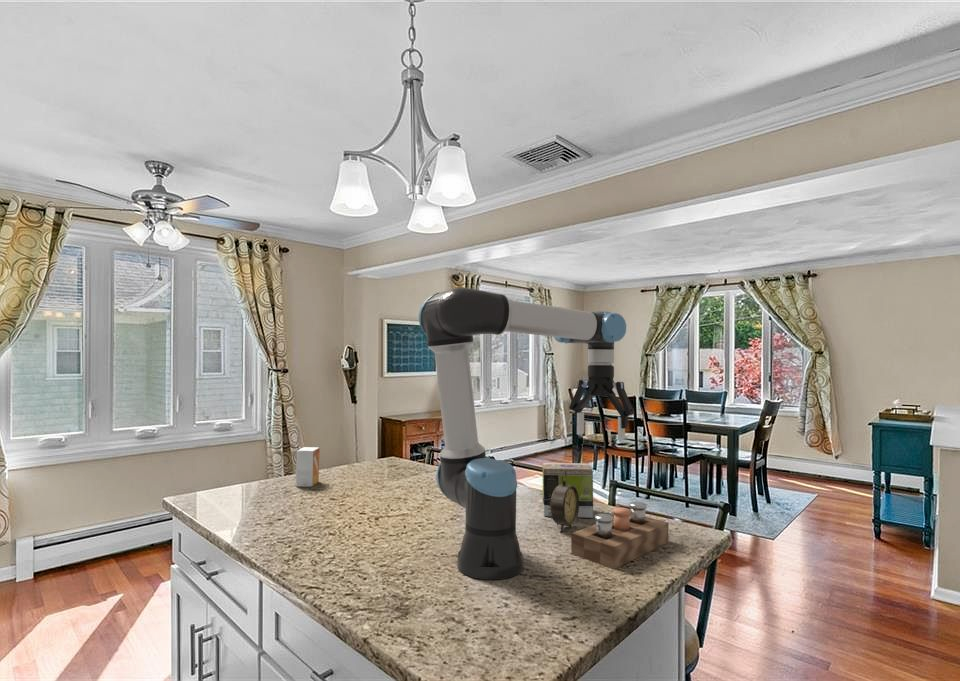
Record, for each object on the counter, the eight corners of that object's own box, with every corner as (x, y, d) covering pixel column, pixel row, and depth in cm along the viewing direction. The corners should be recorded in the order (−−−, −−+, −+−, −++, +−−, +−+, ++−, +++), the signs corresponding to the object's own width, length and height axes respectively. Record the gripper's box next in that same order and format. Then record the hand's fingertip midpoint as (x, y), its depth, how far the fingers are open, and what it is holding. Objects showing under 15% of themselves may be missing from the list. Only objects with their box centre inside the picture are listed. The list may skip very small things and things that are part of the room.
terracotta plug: (624, 534, 127) (624, 513, 127) (609, 529, 130) (609, 509, 130) (633, 530, 130) (634, 510, 130) (618, 525, 133) (618, 506, 133)
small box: (312, 487, 185) (313, 450, 186) (295, 486, 185) (295, 450, 186) (319, 481, 193) (320, 446, 194) (302, 481, 193) (303, 446, 194)
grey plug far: (641, 526, 132) (641, 507, 132) (626, 522, 135) (626, 503, 135) (649, 523, 135) (649, 504, 135) (634, 519, 138) (634, 500, 138)
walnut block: (614, 569, 116) (614, 547, 116) (571, 553, 125) (571, 533, 125) (668, 541, 134) (668, 522, 134) (627, 530, 143) (627, 512, 143)
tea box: (589, 509, 162) (589, 462, 163) (593, 519, 152) (593, 469, 153) (542, 507, 164) (542, 461, 164) (542, 517, 154) (543, 467, 154)
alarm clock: (564, 535, 138) (565, 475, 139) (546, 531, 141) (547, 472, 141) (580, 524, 147) (580, 468, 148) (562, 521, 150) (563, 465, 151)
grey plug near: (606, 541, 121) (606, 520, 121) (591, 536, 124) (591, 516, 124) (616, 537, 124) (616, 516, 124) (601, 532, 127) (601, 512, 127)
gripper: (646, 365, 144) (646, 440, 143) (572, 363, 161) (571, 430, 161) (634, 365, 139) (633, 443, 138) (558, 363, 156) (557, 433, 155)
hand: (600, 437), depth 149 cm, fingers open, 13 cm apart
